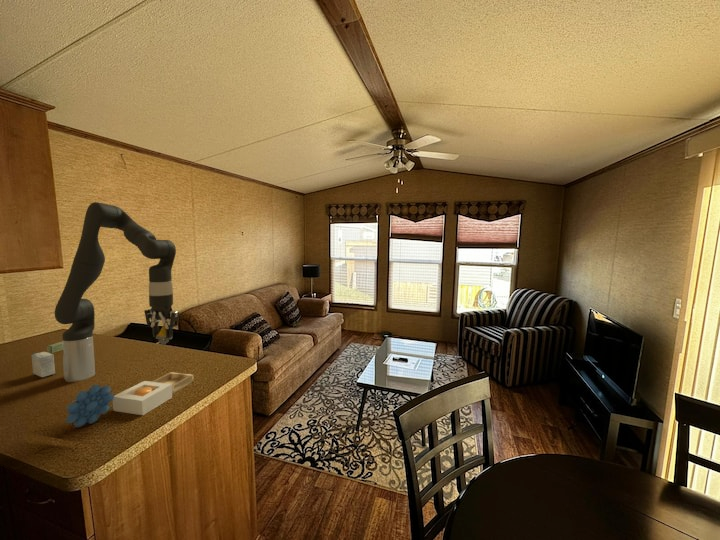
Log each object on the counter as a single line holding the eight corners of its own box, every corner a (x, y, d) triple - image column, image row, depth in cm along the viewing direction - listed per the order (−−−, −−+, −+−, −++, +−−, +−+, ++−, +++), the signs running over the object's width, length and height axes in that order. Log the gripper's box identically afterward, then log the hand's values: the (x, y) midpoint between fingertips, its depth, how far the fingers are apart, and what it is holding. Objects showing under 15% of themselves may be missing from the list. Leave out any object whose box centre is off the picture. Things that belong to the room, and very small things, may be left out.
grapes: (110, 410, 103) (108, 376, 102) (117, 417, 99) (115, 381, 98) (63, 427, 93) (60, 389, 92) (69, 435, 89) (66, 396, 88)
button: (131, 405, 105) (130, 393, 105) (144, 398, 110) (143, 386, 110) (143, 407, 104) (142, 394, 104) (156, 399, 109) (155, 387, 109)
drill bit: (151, 346, 114) (155, 319, 115) (163, 344, 119) (166, 318, 120) (162, 347, 112) (166, 320, 113) (174, 345, 118) (178, 319, 119)
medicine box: (55, 373, 130) (54, 354, 129) (41, 377, 126) (39, 357, 125) (46, 370, 133) (45, 351, 132) (32, 374, 129) (30, 354, 128)
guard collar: (113, 410, 103) (112, 396, 102) (145, 393, 114) (144, 380, 114) (142, 415, 100) (142, 400, 100) (172, 397, 112) (171, 384, 111)
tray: (147, 391, 116) (147, 384, 116) (170, 378, 127) (170, 372, 126) (172, 394, 114) (171, 387, 113) (193, 381, 124) (193, 374, 124)
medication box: (50, 354, 152) (50, 346, 152) (46, 353, 153) (46, 345, 152) (77, 345, 164) (77, 338, 163) (73, 344, 164) (73, 337, 164)
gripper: (185, 292, 116) (186, 336, 117) (154, 290, 119) (155, 332, 121) (168, 296, 108) (170, 342, 110) (136, 293, 112) (138, 338, 113)
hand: (162, 336), depth 115 cm, fingers closed on drill bit, 5 cm apart
